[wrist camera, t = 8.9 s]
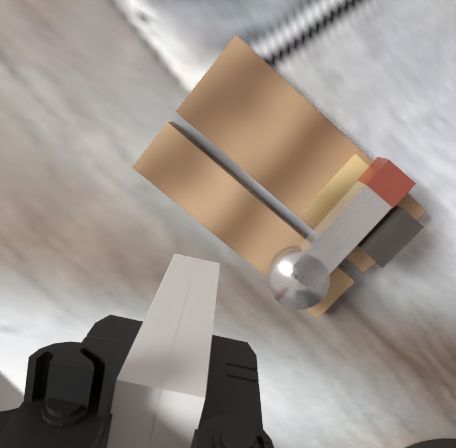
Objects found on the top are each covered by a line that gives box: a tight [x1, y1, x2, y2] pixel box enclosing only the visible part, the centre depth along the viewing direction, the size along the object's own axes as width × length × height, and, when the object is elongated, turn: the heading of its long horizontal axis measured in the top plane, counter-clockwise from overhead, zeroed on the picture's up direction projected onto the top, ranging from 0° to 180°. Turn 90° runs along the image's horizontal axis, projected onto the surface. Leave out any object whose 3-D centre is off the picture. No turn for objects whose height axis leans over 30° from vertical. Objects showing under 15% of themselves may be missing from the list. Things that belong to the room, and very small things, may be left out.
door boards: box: [133, 35, 426, 319], centre depth 31 cm, size 20×12×6 cm, turn 50°
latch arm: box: [268, 157, 416, 310], centre depth 30 cm, size 13×4×2 cm, turn 141°
